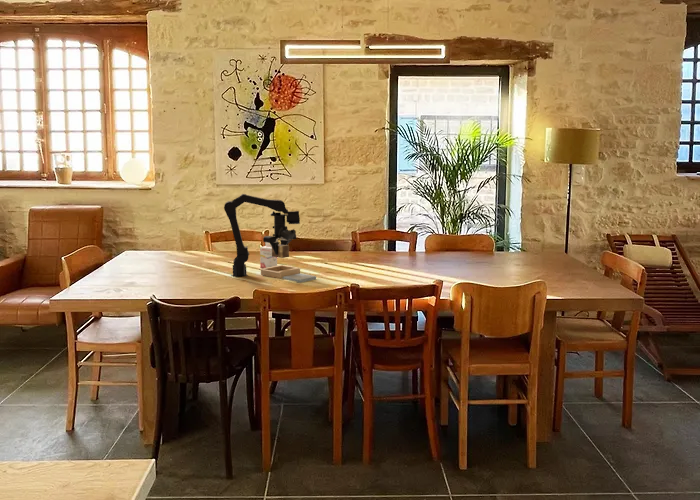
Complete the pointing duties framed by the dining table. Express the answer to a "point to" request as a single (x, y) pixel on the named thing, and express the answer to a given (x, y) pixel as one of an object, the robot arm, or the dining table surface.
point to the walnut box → (281, 251)
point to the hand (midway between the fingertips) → (280, 254)
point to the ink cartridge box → (267, 256)
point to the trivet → (300, 277)
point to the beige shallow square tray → (280, 271)
